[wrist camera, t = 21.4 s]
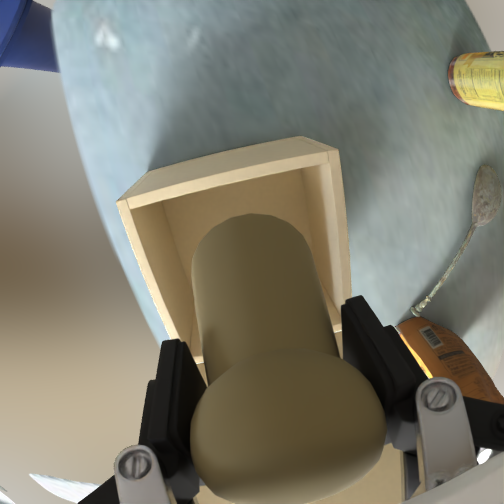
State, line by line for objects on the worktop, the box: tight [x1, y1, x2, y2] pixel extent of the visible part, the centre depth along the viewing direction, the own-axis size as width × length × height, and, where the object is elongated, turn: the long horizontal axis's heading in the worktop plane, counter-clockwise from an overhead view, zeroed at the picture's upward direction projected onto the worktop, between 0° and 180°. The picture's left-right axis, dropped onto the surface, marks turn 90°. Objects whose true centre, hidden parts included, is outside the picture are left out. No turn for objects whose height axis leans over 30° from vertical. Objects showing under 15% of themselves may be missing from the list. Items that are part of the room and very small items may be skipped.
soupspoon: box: [411, 164, 501, 317], centre depth 33 cm, size 22×3×7 cm
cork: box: [190, 213, 387, 504], centre depth 11 cm, size 6×6×11 cm
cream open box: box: [116, 136, 352, 363], centre depth 27 cm, size 15×15×10 cm
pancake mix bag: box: [396, 316, 504, 404], centre depth 28 cm, size 7×19×28 cm, turn 63°
